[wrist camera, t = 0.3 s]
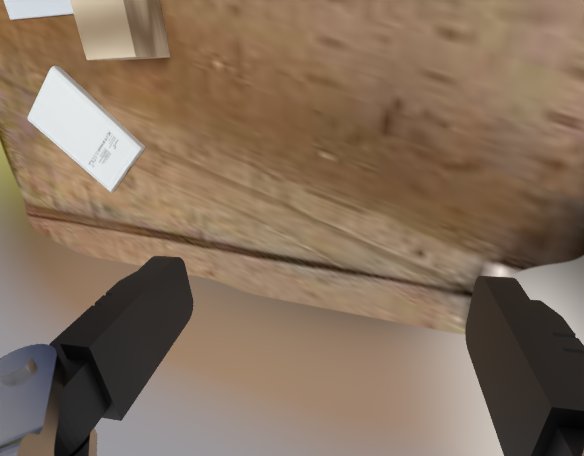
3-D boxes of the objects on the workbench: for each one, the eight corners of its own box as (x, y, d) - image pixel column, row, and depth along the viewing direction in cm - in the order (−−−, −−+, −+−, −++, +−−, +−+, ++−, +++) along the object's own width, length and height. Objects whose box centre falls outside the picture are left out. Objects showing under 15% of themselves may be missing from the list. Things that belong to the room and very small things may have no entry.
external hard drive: (63, 65, 38) (148, 146, 40) (37, 118, 42) (117, 189, 44) (51, 65, 37) (140, 149, 39) (25, 120, 40) (109, 193, 43)
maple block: (114, 4, 34) (68, -6, 29) (159, -1, 33) (120, -12, 28) (127, 59, 36) (86, 60, 31) (170, 57, 35) (135, 56, 30)
